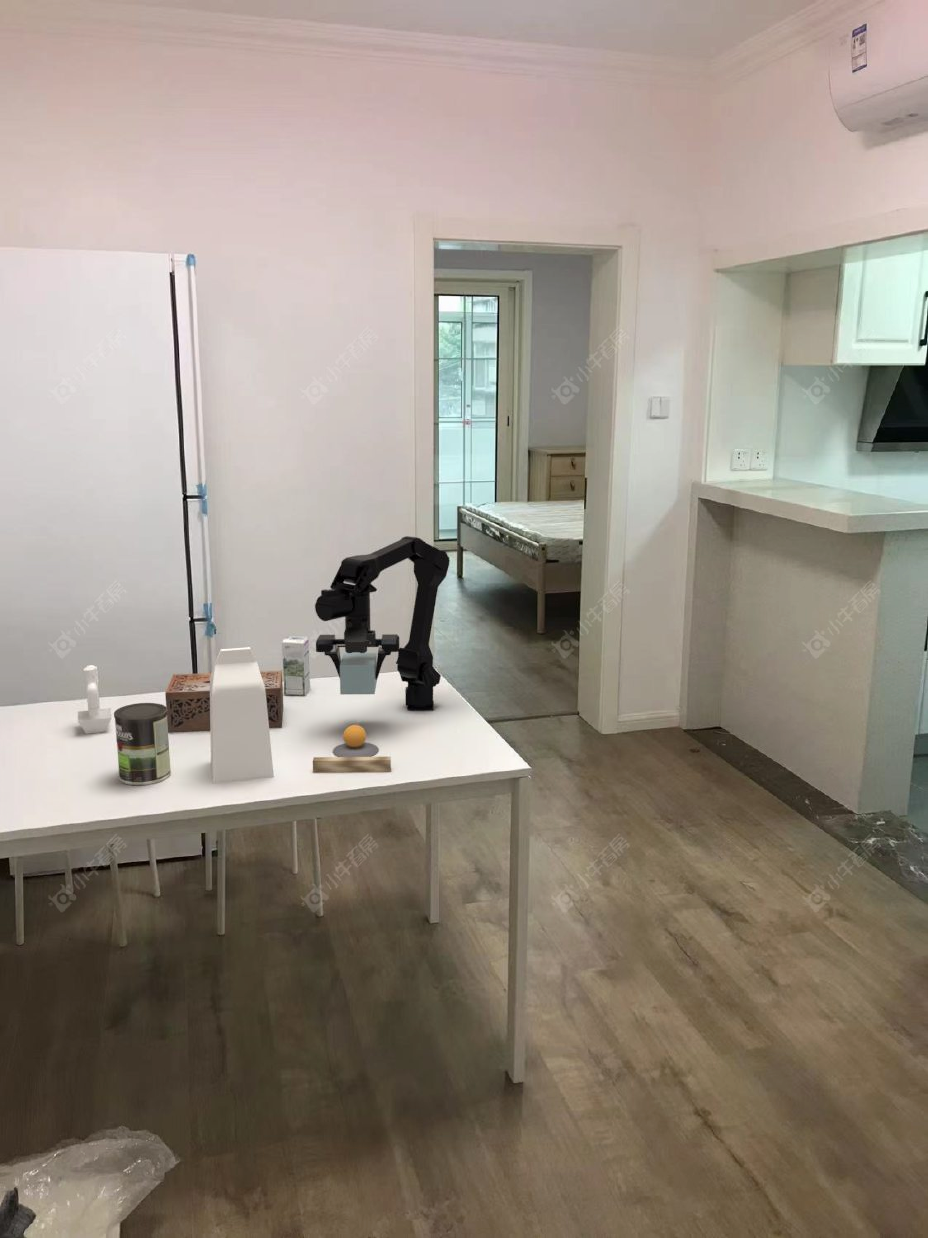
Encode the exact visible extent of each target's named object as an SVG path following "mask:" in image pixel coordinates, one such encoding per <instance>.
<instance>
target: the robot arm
mask: <svg viewBox="0 0 928 1238" xmlns="http://www.w3.org/2000/svg"><path fill="white" fill-rule="evenodd" d="M407 559H408V560H409V561H410V562H412V563H413V574H414V577H415V580H416V582H417V587H416V593H415V599H414V604H413V605H414V607H413V613H412V620H411V624H410V625H411V626H410V631H409V636H408V642H407V643H406V645H405V646H404V647H400V635H398V634H396V633H395V634H393V633H392V634H391V633H389V634H388V633H387V634H384V633H383V634H382V635H381V638H376V637H377V635H376V630H373V629H372V630H371V593H375V592H377V591H378V588H376V587H375V586H374V585H373V584H372V583H373V582H374V581H375V580H376V579H378V578H379V576H380V574H381V572H382V571H385V570H386V569H388V568H391V567H392V566H395V565H397V564H398V563H401V562H403V561H405V560H407ZM450 562H451V561H450V557H449V555H448V553H447V552H446V551H445V550H441V549H439V548H437V547H435V546H433V545H432V544H430V543H427V542H425V541H424V540H423V539H422V538H420V537H418V536H417V537H415V536H409V535H405V536H402V538H401V539H399V540H398V541H395V542H392V543H390V544H388V545H386V546H384V547H382V548H379V549H377V550H375V551H374V552H371V553H368V554H359V555H353V556H352V555H351V556H348V557H345V558H344V559H342V560H341V562H340V566H339V568H338V569H337V572H336V574H335V576H334V578H333V580H332V582H331V585H330V589H321V591H320V596H318V597H317V599H316V602H315V604H314V610H315V614H316V616H317V617H318V618H319V620H321V621H323V622H329V621H332V620H337V619H341V618H344V632H343V638H336V635H335V634H320V635H318V636H317V638H316V641H315V652H317V653H323V654H324V656H328V657H330V659H331V661H332V663H333V664H334V667H335V670H336V673H337V675H338V677H339V679H340V663H341V660H342V656H341V652H340V651H341V650H340V648H344V652H345V653H368V648H378V651H377V665H376V673H375V678H376V680H377V681H378V678H379V676H380V671H381V668H382V666H383V663H384V660H385V659H386V657H387V656H391V655H392V653H398V654H397V660H396V662H395V664H396V665H397V667H396V669H397V672H398V674H399V676H400V679H401V681H402V682H403V683H404V682H406V683H407V686H405V699H404V700H405V706H407V708H406V709H407V710H408V711H433V710H435V703H434V701H435V700H434V688H435V687H437V685H439V684H440V681H441V677H442V675H441V674H440V672H438V671H437V670H436V669H435V667H434V666H433V665H434V655H433V653H432V651H431V647H430V638H431V634H432V633H431V632H432V628H433V627H432V625H433V620H434V614H435V607H436V601H437V596H438V589H439V586H440V585H441V583H442V582H443V581H444V580H445V579H446V578H447V574H448V570H449V567H450Z"/></svg>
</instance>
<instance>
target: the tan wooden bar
mask: <svg viewBox="0 0 928 1238" xmlns="http://www.w3.org/2000/svg"><path fill="white" fill-rule="evenodd" d="M391 762H392V759H391V756H371V757H337V756H323V757H321V756H317V757H316V756H315V757H314V756H313V759H312V773H356V772H358V773H360V772H361V773H364V772H369V773H370V772H371V773H372V772H375V773H376V772H377V773H378V772H379V773H380V772H391V770H392V769H391V768H392V763H391Z"/></svg>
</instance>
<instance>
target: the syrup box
mask: <svg viewBox="0 0 928 1238" xmlns="http://www.w3.org/2000/svg"><path fill="white" fill-rule="evenodd" d="M281 648H282V650H281V651H282V677H283V696H284V695H285V696H296V697H297V696H299V697H300V696H303V697H304V696H307V695H308V693H309V692H310V691H311V675H310V673H311V672H310V669H311V668H310V639H309V637H308V636H287V637H285V638H284V639H283V640H282V641H281Z"/></svg>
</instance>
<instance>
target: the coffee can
mask: <svg viewBox="0 0 928 1238" xmlns="http://www.w3.org/2000/svg"><path fill="white" fill-rule="evenodd" d="M113 717H114V721H115V722H114V724H115V736H116V748H117V750H116V751H117V762H118V763H117V764H118V775H119V776H118V780H119V781H120V782H121V783H123V784H126V785H129V786H147V785H154V784H157V783H160V782H163V781H165V780H167V779H168V778H170V776H171V774H172V771H171V759H170V758H171V757H170V743H169V741H170V740H169V733H168V723H167V707H166V705H164V704H162V703H155V702H138V703H132V704H128V705H124V706H121V707H119V708H117V709H116V710H115V711H114V712H113Z"/></svg>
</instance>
